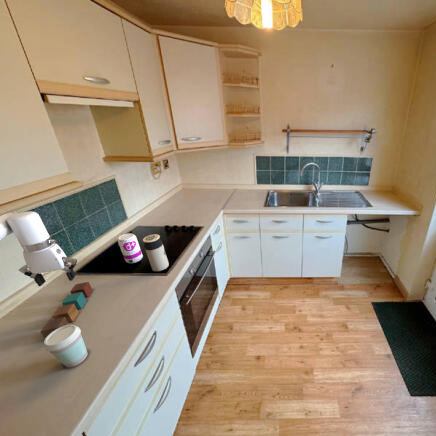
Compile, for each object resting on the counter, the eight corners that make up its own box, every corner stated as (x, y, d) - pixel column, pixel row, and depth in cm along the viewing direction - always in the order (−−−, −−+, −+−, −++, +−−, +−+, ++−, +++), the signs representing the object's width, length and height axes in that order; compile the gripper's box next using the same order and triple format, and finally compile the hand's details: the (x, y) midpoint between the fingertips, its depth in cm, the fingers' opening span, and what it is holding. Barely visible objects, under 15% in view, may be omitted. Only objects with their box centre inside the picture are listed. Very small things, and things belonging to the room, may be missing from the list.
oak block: (57, 325, 89) (51, 316, 86) (64, 315, 93) (58, 306, 91) (73, 321, 90) (67, 312, 88) (79, 312, 94) (73, 303, 92)
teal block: (66, 312, 95) (61, 303, 92) (72, 303, 99) (67, 294, 97) (81, 308, 96) (76, 299, 94) (86, 300, 100) (81, 291, 98)
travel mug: (150, 272, 117) (139, 242, 109) (155, 263, 124) (145, 234, 116) (166, 270, 118) (157, 240, 111) (170, 261, 126) (162, 233, 118)
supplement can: (144, 260, 127) (135, 236, 121) (126, 265, 123) (117, 242, 116) (142, 253, 133) (134, 231, 127) (125, 258, 129) (116, 235, 122)
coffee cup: (94, 342, 82) (80, 318, 77) (91, 362, 75) (75, 337, 70) (62, 355, 78) (45, 331, 72) (56, 377, 71) (37, 352, 66)
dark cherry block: (74, 300, 101) (69, 291, 98) (79, 292, 105) (75, 284, 103) (88, 297, 102) (83, 288, 100) (92, 289, 106) (88, 281, 104)
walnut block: (47, 341, 83) (40, 331, 80) (54, 329, 87) (48, 320, 85) (64, 336, 84) (57, 327, 82) (70, 325, 88) (64, 316, 86)
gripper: (71, 236, 90) (88, 271, 97) (14, 243, 84) (36, 280, 92) (61, 245, 83) (79, 282, 90) (-2, 254, 78) (23, 292, 85)
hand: (57, 281), depth 91 cm, fingers open, 9 cm apart
